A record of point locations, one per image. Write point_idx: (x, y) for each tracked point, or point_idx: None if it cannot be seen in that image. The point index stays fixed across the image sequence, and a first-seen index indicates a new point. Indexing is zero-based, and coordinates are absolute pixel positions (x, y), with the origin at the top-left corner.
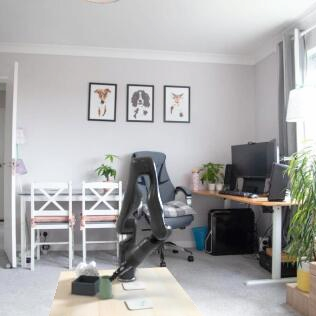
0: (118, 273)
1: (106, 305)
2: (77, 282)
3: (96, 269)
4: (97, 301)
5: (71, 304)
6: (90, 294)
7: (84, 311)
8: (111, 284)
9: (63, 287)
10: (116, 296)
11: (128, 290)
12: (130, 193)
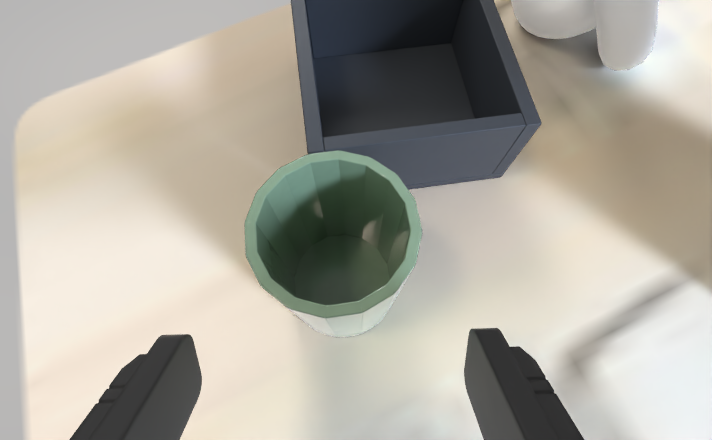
0: (478, 370)
1: None
2: (302, 18)
3: (644, 3)
4: (233, 268)
5: (144, 135)
6: None
7: (37, 267)
8: (329, 327)
9: None
10: (381, 370)
11: None
12: None
